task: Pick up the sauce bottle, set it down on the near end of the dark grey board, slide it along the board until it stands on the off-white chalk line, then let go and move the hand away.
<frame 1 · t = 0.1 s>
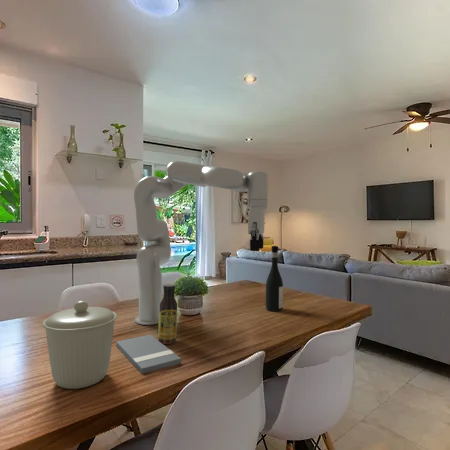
hand: (256, 249, 127), 31 cm above the table, tool pointing down, fingers open, 9 cm apart
canister: (81, 380, 89), on the table
wine bottle: (274, 310, 158), on the table
sauce bottle: (167, 342, 116), on the table
board: (146, 354, 106), on the table
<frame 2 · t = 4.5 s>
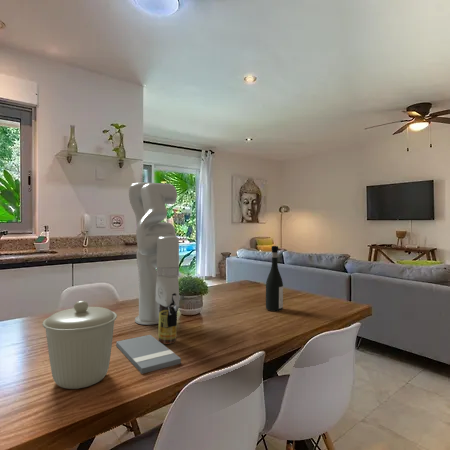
hand: (167, 322, 116), 7 cm above the table, tool pointing down, fingers closed on sauce bottle, 6 cm apart
sauce bottle: (167, 342, 116), on the table, touching gripper
everything else where it was.
when the fingers open (8 cm above the table, at t = 14.7 s): sauce bottle stays where it is, resting on board.
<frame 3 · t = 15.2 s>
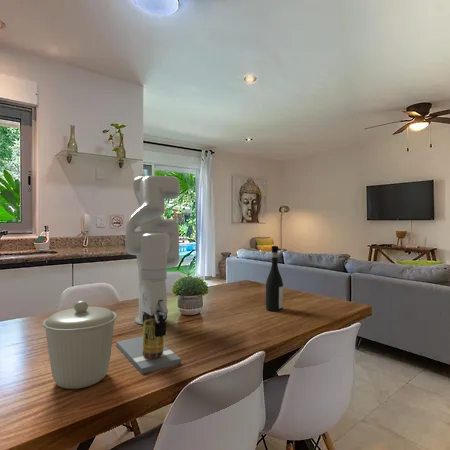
hand: (153, 331, 100), 9 cm above the table, tool pointing down, fingers open, 9 cm apart
sauce bottle: (153, 355, 101), point 1 cm above the table, touching board
everything else where it was.
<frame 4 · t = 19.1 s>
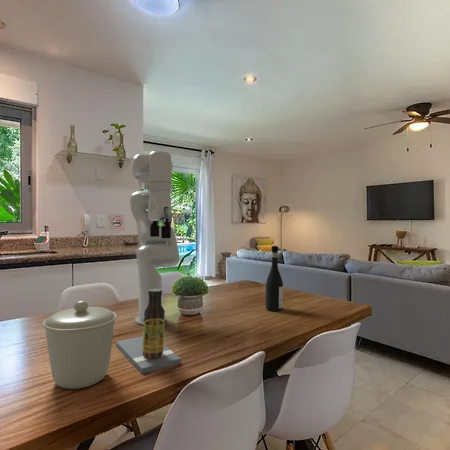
hand: (160, 237, 116), 36 cm above the table, tool pointing down, fingers open, 9 cm apart
nothing on the table moved.
at the end: sauce bottle 0.3 cm from the target spot on the board, point 1.4 cm above the board's base; sauce bottle tilted 0°; the gripper is holding nothing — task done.
